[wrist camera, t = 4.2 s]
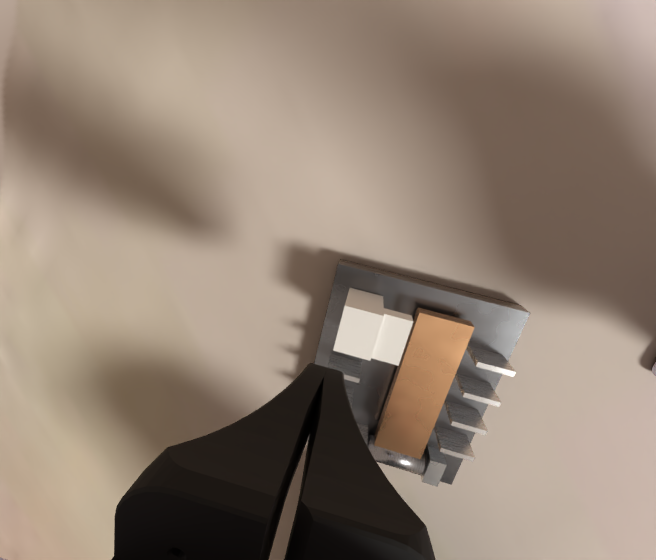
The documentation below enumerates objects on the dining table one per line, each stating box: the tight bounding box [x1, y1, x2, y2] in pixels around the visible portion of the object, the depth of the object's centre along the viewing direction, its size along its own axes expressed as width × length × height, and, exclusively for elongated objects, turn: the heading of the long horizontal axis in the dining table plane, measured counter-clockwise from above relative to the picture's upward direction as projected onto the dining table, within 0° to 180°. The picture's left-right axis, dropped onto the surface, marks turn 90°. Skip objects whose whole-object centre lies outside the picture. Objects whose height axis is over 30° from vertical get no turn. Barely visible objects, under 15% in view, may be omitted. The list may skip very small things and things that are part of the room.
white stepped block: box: [333, 288, 413, 366], centre depth 17 cm, size 4×3×3 cm
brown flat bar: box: [367, 308, 475, 475], centre depth 19 cm, size 4×11×1 cm, turn 167°
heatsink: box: [307, 259, 530, 486], centre depth 20 cm, size 11×13×3 cm
